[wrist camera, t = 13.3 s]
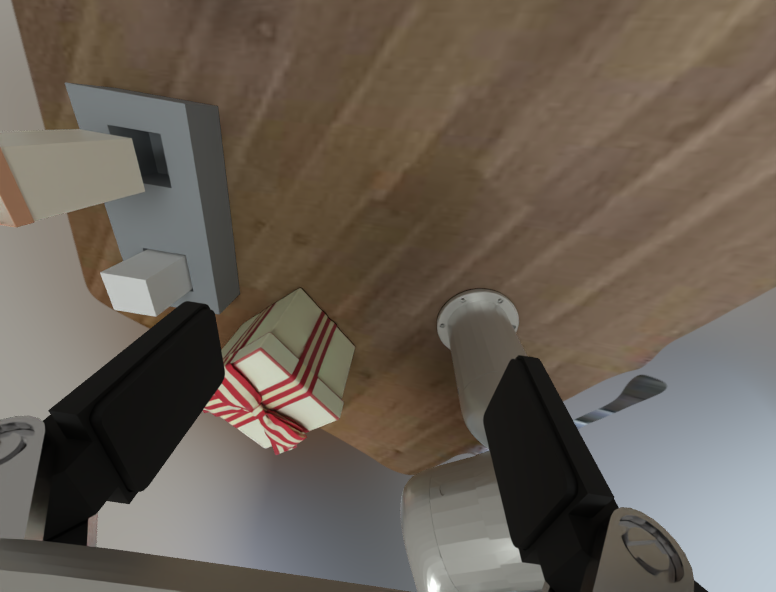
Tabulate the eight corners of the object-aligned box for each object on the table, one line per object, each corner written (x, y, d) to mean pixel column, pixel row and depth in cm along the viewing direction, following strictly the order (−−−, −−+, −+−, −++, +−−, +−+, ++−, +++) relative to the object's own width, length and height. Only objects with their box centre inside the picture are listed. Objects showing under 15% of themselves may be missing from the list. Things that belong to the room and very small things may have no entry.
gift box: (226, 335, 53) (156, 417, 39) (295, 279, 47) (241, 353, 32) (297, 390, 59) (260, 479, 45) (366, 347, 53) (349, 436, 38)
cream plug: (145, 192, 31) (16, 227, 21) (96, 183, 31) (-58, 215, 21) (132, 137, 29) (-24, 147, 19) (78, 128, 29) (-108, 133, 18)
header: (239, 293, 49) (190, 343, 38) (165, 281, 48) (94, 328, 37) (217, 106, 35) (132, 100, 24) (115, 87, 35) (-17, 73, 24)
